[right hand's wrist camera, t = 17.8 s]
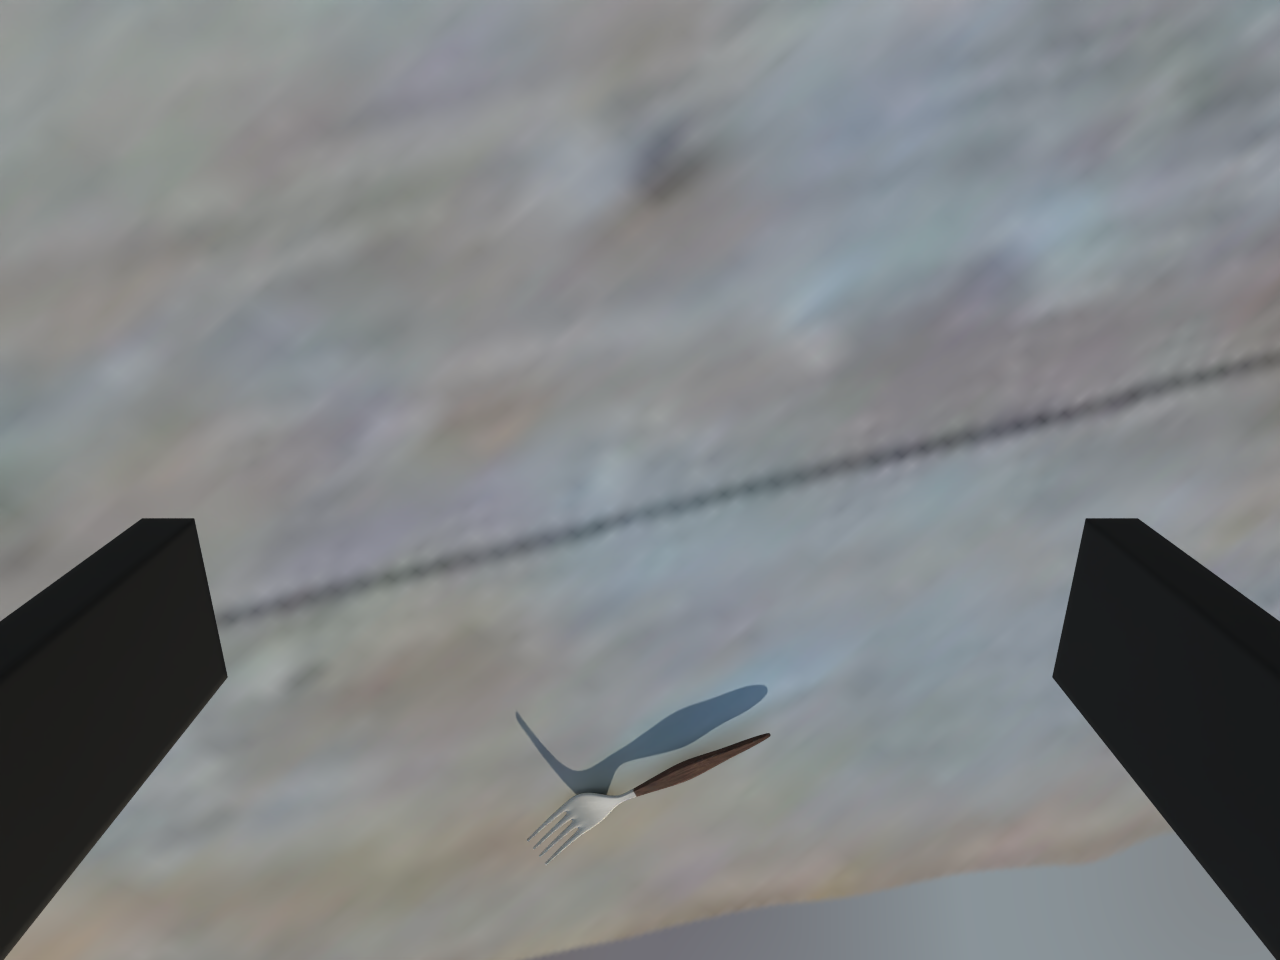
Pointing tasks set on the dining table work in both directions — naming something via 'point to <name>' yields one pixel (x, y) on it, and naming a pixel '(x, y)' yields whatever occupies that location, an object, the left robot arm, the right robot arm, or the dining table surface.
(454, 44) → the dining table surface
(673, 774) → the fork
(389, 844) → the dining table surface
